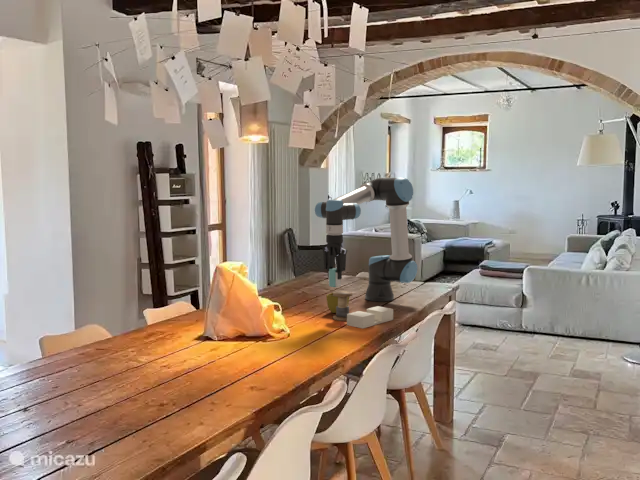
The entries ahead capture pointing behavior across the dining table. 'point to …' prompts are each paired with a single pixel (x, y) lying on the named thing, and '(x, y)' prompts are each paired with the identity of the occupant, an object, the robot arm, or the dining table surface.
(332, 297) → the flower pot
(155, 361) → the dining table surface
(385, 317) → the notched board
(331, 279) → the block
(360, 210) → the robot arm
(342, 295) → the door knob
